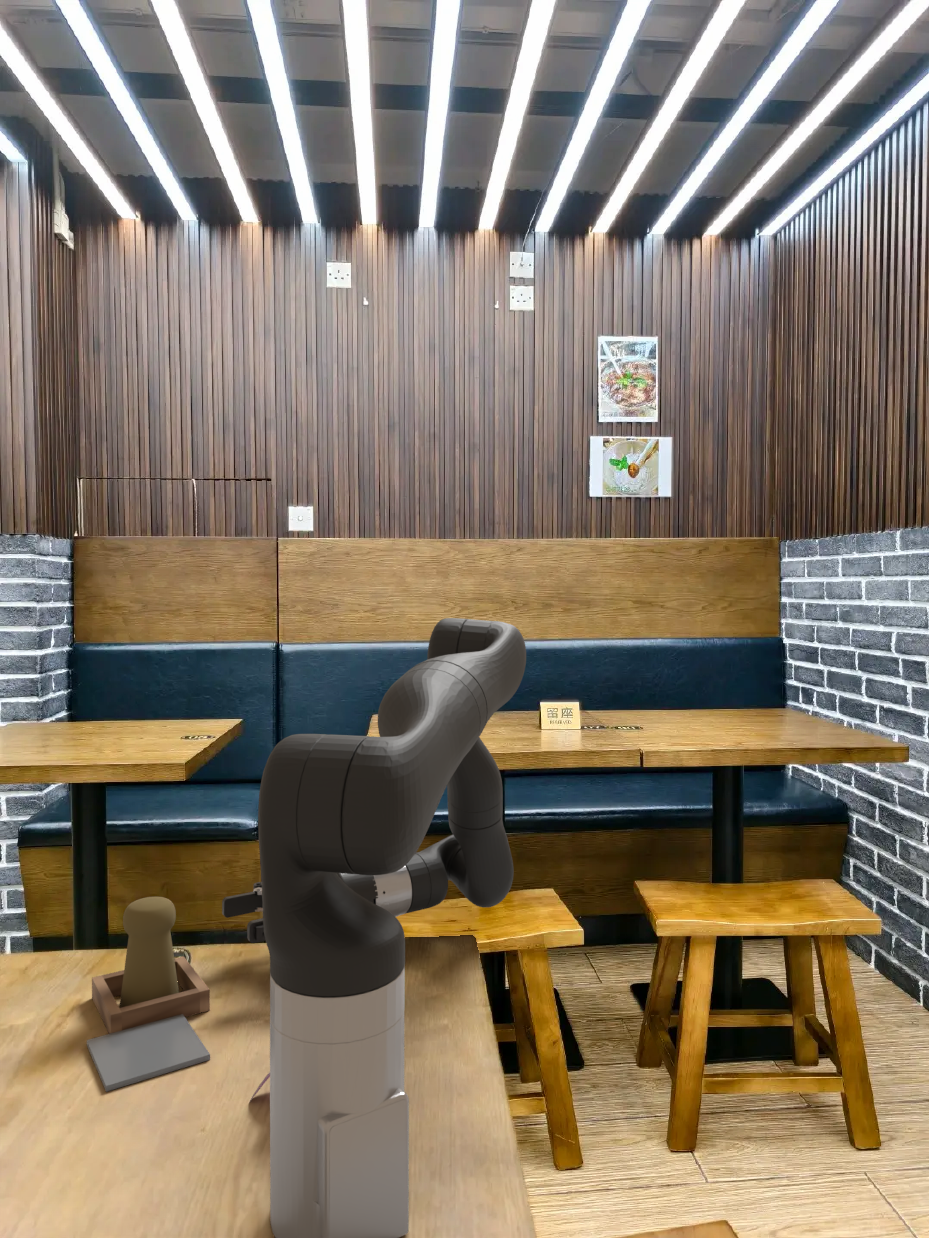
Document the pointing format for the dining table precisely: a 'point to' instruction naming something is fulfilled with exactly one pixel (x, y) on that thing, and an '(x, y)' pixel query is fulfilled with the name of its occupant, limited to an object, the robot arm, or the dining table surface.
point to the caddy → (152, 1010)
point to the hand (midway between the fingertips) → (235, 919)
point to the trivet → (146, 1051)
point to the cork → (149, 951)
